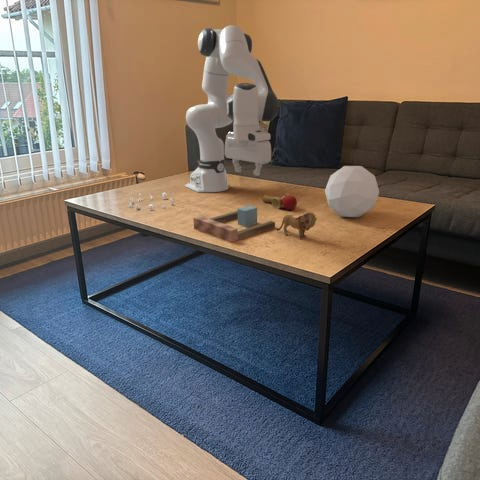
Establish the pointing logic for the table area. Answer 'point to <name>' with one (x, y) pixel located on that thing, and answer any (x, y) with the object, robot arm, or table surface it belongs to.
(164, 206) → the game piece set
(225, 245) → the table surface
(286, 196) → the kendama
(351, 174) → the geometric polyhedron
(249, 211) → the block
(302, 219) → the lion figurine
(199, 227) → the stop channel
